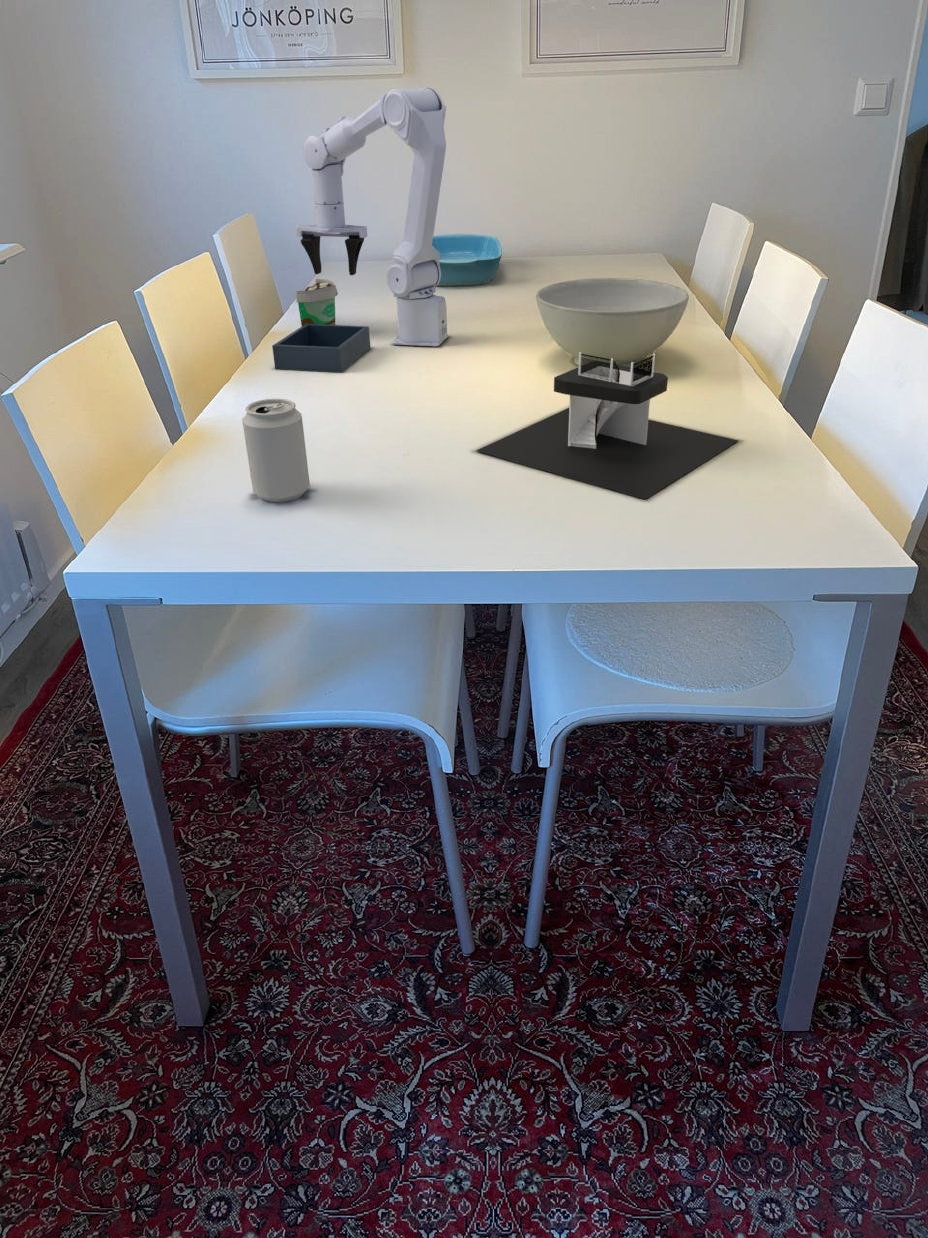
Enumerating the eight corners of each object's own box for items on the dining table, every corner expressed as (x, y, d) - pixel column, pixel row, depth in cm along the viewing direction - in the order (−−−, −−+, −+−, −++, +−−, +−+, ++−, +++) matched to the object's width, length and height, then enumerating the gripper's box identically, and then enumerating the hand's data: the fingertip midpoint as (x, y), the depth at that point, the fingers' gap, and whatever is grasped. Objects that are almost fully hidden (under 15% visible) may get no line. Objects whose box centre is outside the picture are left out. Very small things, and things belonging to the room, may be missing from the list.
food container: (330, 343, 187) (325, 291, 182) (301, 342, 188) (295, 291, 183) (349, 328, 197) (344, 278, 192) (321, 327, 198) (316, 278, 193)
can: (256, 483, 127) (243, 396, 120) (312, 480, 127) (302, 393, 121) (250, 506, 120) (236, 415, 114) (309, 503, 121) (298, 412, 114)
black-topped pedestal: (475, 451, 135) (474, 358, 128) (578, 404, 152) (582, 320, 145) (645, 500, 119) (654, 397, 112) (738, 441, 136) (751, 349, 129)
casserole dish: (504, 289, 226) (504, 257, 222) (411, 291, 226) (410, 260, 223) (498, 259, 258) (498, 231, 254) (417, 261, 258) (416, 234, 254)
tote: (370, 348, 183) (368, 326, 181) (341, 372, 170) (339, 348, 168) (308, 345, 186) (305, 323, 184) (274, 368, 173) (271, 345, 171)
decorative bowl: (697, 349, 178) (704, 283, 171) (660, 390, 157) (667, 317, 151) (563, 336, 187) (565, 273, 181) (512, 374, 167) (512, 304, 160)
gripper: (287, 204, 185) (295, 276, 192) (356, 205, 182) (362, 278, 189) (301, 200, 191) (308, 269, 198) (368, 200, 188) (373, 271, 195)
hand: (335, 273), depth 194 cm, fingers open, 7 cm apart
